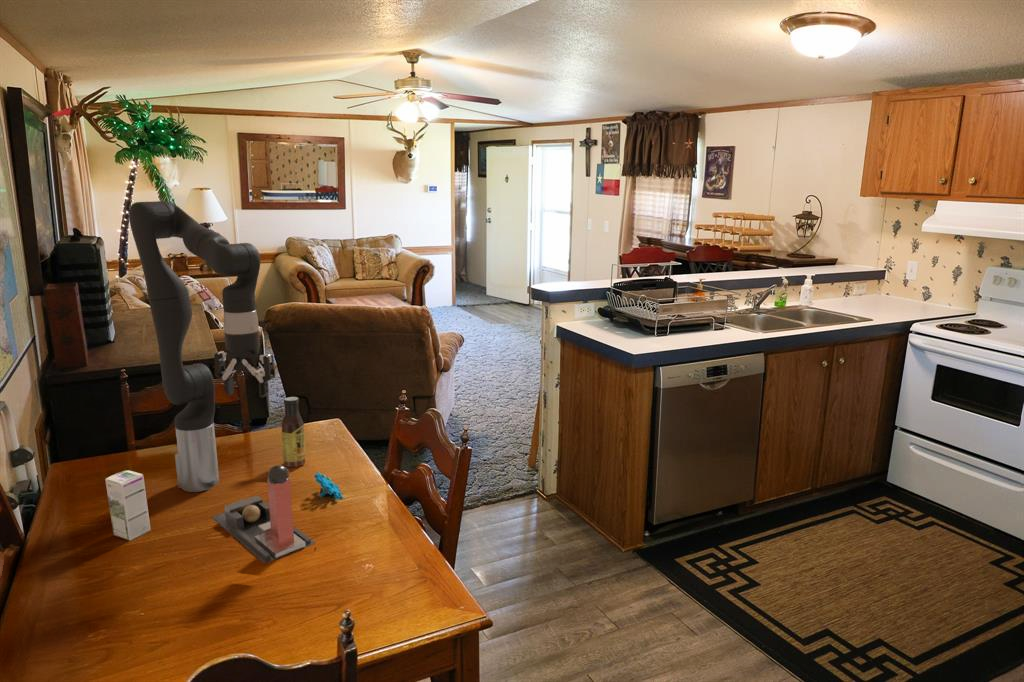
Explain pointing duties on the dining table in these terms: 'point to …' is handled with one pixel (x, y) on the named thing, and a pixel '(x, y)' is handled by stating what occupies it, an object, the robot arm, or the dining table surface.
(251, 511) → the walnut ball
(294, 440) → the sauce bottle
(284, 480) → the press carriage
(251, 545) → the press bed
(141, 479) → the syrup box
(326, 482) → the gear
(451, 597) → the dining table surface
